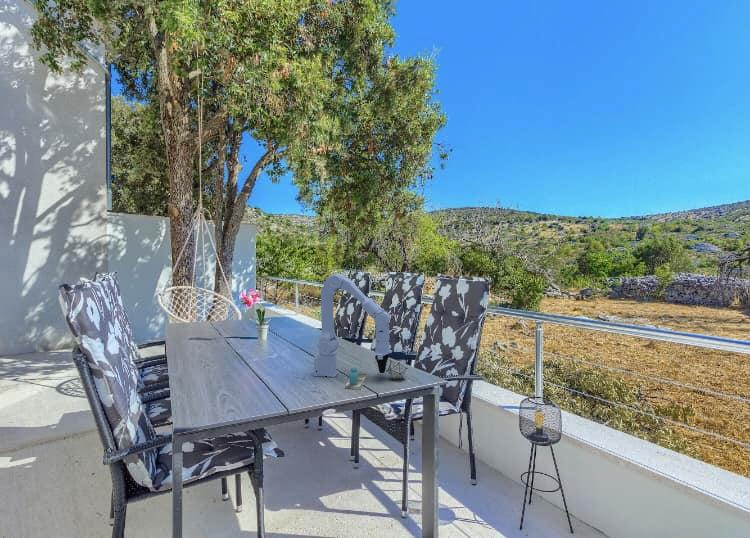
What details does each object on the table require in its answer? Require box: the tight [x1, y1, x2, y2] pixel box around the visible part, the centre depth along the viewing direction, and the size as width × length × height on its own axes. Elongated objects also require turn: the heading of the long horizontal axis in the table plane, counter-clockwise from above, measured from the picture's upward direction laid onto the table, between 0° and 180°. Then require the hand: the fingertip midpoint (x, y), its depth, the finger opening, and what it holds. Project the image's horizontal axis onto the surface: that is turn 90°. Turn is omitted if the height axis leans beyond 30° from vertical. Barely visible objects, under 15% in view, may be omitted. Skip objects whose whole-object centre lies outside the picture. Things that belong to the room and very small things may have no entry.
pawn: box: [349, 366, 358, 385], centre depth 155 cm, size 3×3×7 cm
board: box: [344, 372, 369, 390], centre depth 162 cm, size 6×18×1 cm, turn 172°
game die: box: [385, 358, 409, 381], centre depth 166 cm, size 9×8×10 cm
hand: (382, 372), depth 167 cm, fingers closed
